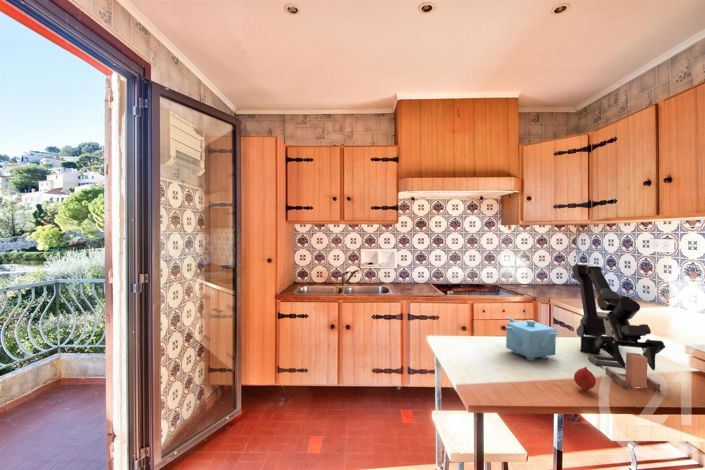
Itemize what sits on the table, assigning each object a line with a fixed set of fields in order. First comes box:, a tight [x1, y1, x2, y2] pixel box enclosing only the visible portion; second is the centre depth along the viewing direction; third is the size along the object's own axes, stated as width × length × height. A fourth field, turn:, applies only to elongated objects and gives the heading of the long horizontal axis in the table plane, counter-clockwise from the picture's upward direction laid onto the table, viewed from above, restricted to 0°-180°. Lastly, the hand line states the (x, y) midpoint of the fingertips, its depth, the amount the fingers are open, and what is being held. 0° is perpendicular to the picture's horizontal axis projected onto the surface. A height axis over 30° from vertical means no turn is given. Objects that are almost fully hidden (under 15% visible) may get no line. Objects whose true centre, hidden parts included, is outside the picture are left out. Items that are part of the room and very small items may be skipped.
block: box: [624, 352, 648, 389], centre depth 108 cm, size 4×4×10 cm
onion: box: [573, 366, 597, 392], centre depth 104 cm, size 6×6×8 cm
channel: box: [604, 367, 661, 393], centre depth 110 cm, size 11×10×2 cm
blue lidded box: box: [505, 316, 559, 362], centre depth 133 cm, size 19×19×15 cm
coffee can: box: [597, 311, 616, 340], centre depth 148 cm, size 10×10×14 cm
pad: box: [600, 366, 626, 376], centre depth 119 cm, size 6×7×1 cm
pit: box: [587, 354, 626, 369], centre depth 126 cm, size 6×10×2 cm, turn 76°
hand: (638, 368), depth 106 cm, fingers open, 8 cm apart
